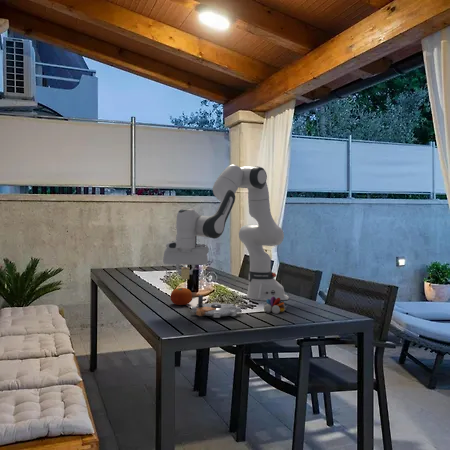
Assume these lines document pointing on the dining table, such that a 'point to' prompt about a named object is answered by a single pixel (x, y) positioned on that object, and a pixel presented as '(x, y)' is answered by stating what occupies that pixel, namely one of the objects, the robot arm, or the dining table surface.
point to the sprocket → (215, 309)
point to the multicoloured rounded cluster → (274, 306)
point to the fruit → (181, 296)
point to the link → (184, 272)
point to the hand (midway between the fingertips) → (185, 274)
